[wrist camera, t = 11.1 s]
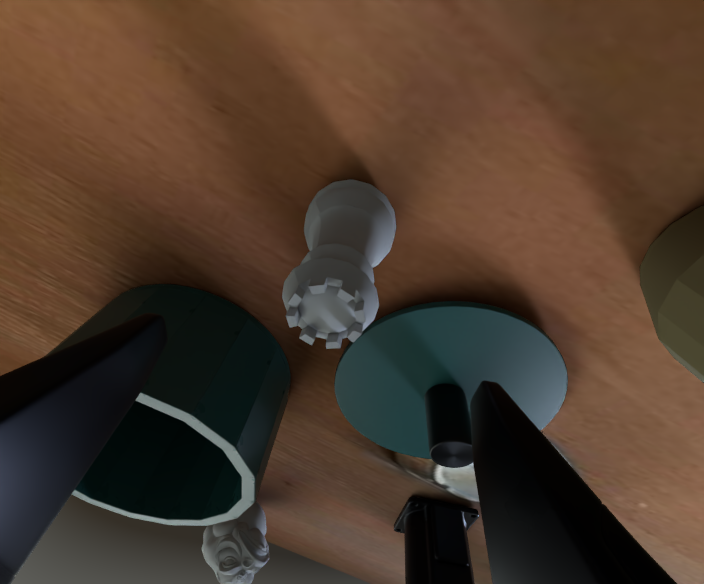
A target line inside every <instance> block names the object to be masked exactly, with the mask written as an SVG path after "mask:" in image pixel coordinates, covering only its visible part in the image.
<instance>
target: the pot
mask: <svg viewBox="0 0 704 584" xmlns="http://www.w3.org/2000/svg"><path fill="white" fill-rule="evenodd" d="M145 313H154V314H159V315H162V316H163V317H164V319H165V325H166V330H167V336H168V340H167V344H166V346H165V348H164V350H163V352H162V354H161V356H160V357H159V359H158V361H157V363H156V365H155V367H154V369H153V371H152V372H151V374H150V376H149V378H148V380H147V382H146V384H145V386H144V387H143V389H142V391H141V393H140V394H139V396H138V397H137V399H136V400H135V402H134V403H133V405H132V406H131V408H130V409H129V411H128V412H127V414H126V415H125V417H124V418H123V419H122V421H121V422H120V424H119V425H118V427H117V428H116V430H115V431H114V433H113V434H112V436H111V437H110V439H109V440H108V441H107V443H106V444H105V446H104V447H103V449H102V450H101V452H100V453H99V455H98V456H97V458H96V459H95V461H94V462H93V463H92V465H91V466H90V468H89V469H88V471H87V472H86V474H85V475H84V477H83V478H82V480H81V481H80V483H79V484H78V485H77V487H76V488H75V490H74V491H73V493H72V494H73V495H75V496H77V497H78V498H80V499H82V500H84V501H86V502H89V503H91V504H94V505H97V506H100V507H103V508H105V509H108V510H111V511H114V512H117V513H120V514H122V515H126V516H129V517H131V518H136V519H142V520H147V521H152V522H157V523H162V524H167V525H202V526H207V525H213V524H217V523H220V522H224V521H228V520H232V519H236V518H238V517H239V516H240V515H241V514H242V513H244V512H245V511H246V510H247V509H248V508H249V507H250V506H251V505H252V504H253V503H254V502H255V501H256V498H257V495H258V492H259V489H260V485H261V482H262V479H263V476H264V473H265V470H266V467H267V463H268V460H269V457H270V454H271V451H272V448H273V445H274V441H275V438H276V435H277V432H278V429H279V426H280V423H281V419H282V416H283V413H284V410H285V407H286V404H287V400H288V393H289V388H290V384H291V375H290V369H289V364H288V362H287V359H286V356H285V354H284V352H283V350H282V348H281V346H280V345H279V344H278V342H277V341H276V339H275V338H274V337H273V335H272V334H271V333H270V332H269V331H268V330H267V329H266V328H265V327H264V326H263V325H262V324H261V323H260V322H259V321H258V320H257V319H255V318H254V317H253V316H251V315H250V314H249V313H247V312H246V311H245V310H243V309H241V308H240V307H238V306H236V305H235V304H233V303H231V302H229V301H227V300H225V299H223V298H221V297H219V296H217V295H214V294H211V293H208V292H206V291H203V290H199V289H195V288H191V287H187V286H180V285H172V284H155V285H145V286H141V287H137V288H133V289H131V290H128V291H126V292H124V293H121V294H120V295H119V296H117V297H116V298H115V299H113V300H112V301H111V302H110V303H109V304H107V305H106V306H105V307H103V308H102V309H101V310H99V311H98V312H97V313H96V314H95V315H94V316H92V317H91V318H90V319H89V320H88V321H86V322H85V323H84V324H83V325H82V326H80V327H79V328H78V329H77V330H76V331H74V332H73V333H72V334H71V335H70V336H68V337H67V338H66V339H65V340H64V341H62V342H61V343H60V344H59V345H58V346H56V347H55V348H54V349H53V350H52V351H50V352H49V353H48V354H47V355H46V356H48V355H50V354H52V353H55V352H57V351H59V350H61V349H64V348H66V347H68V346H71V345H73V344H75V343H78V342H80V341H82V340H85V339H87V338H89V337H91V336H94V335H96V334H98V333H101V332H103V331H105V330H108V329H110V328H112V327H114V326H117V325H119V324H121V323H124V322H126V321H128V320H131V319H133V318H135V317H137V316H140V315H142V314H145ZM44 357H45V356H44Z"/></svg>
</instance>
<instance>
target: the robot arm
mask: <svg viewBox="0 0 704 584" xmlns="http://www.w3.org/2000/svg"><path fill="white" fill-rule="evenodd" d="M167 340H168V336H167V330H166V325H165V319H164V317H163V316H162V315H159V314H154V313H145V314H142V315H140V316H137V317H135V318H133V319H131V320H128V321H126V322H124V323H121V324H119V325H117V326H114V327H112V328H110V329H108V330H105V331H103V332H101V333H98V334H96V335H94V336H91V337H89V338H87V339H85V340H82V341H80V342H78V343H75V344H73V345H71V346H68V347H66V348H64V349H61V350H59V351H57V352H55V353H52V354H50V355H48V356H45V357H43V358H41V359H38V360H36V361H34V362H32V363H29V364H27V365H25V366H22V367H20V368H18V369H15V370H13V371H11V372H9V373H6V374H4V375H2V376H0V584H11V583H12V581H13V580H14V578H15V575H17V573H18V572H19V570H20V569H21V568H22V566H23V565H24V563H25V562H26V560H27V559H28V557H29V556H30V554H31V553H32V551H33V550H34V549H35V547H36V546H37V544H38V543H39V541H40V540H41V538H42V537H43V535H44V534H45V532H46V531H47V529H48V528H49V526H50V525H51V524H52V522H53V520H54V519H55V518H56V516H57V515H58V513H59V512H60V510H61V509H62V507H63V506H64V505H65V503H66V502H67V500H68V499H69V497H70V496H71V494H72V493H73V491H74V490H75V488H76V487H77V485H78V484H79V483H80V481H81V480H82V478H83V477H84V475H85V474H86V472H87V471H88V469H89V468H90V466H91V465H92V463H93V462H94V461H95V459H96V458H97V456H98V455H99V453H100V452H101V450H102V449H103V447H104V446H105V444H106V443H107V441H108V440H109V439H110V437H111V436H112V434H113V433H114V431H115V430H116V428H117V427H118V425H119V424H120V422H121V421H122V419H123V418H124V417H125V415H126V414H127V412H128V411H129V409H130V408H131V406H132V405H133V403H134V402H135V400H136V399H137V397H138V396H139V394H140V393H141V391H142V389H143V387H144V386H145V384H146V382H147V380H148V378H149V376H150V374H151V372H152V371H153V369H154V367H155V365H156V363H157V361H158V359H159V357H160V356H161V354H162V352H163V350H164V348H165V346H166V344H167ZM470 413H471V434H472V453H473V463H474V470H475V476H476V482H477V489H478V495H479V501H480V507H481V514H482V520H483V526H484V532H485V539H486V545H487V551H488V557H489V563H490V570H491V576H492V582H493V584H677V583H676V582H675V581H674V580H673V579H672V578H671V577H670V576H669V575H668V574H667V573H666V572H665V571H664V570H663V569H662V567H661V566H660V565H659V564H658V563H657V562H656V561H655V560H654V559H653V558H652V557H651V556H650V555H649V554H648V553H647V552H646V551H645V550H644V548H643V547H642V546H641V545H640V544H639V543H638V542H637V541H636V540H635V539H634V538H633V536H632V535H631V534H630V533H629V532H628V531H627V530H626V529H625V528H624V526H623V525H622V524H621V523H620V522H619V521H618V520H617V519H616V517H615V516H614V515H613V514H612V513H611V512H610V511H609V509H608V508H607V507H606V506H605V505H604V504H602V502H601V500H600V499H599V498H598V497H597V496H596V495H595V493H594V492H593V491H592V490H591V489H590V488H589V487H588V485H587V484H586V483H585V482H584V481H583V480H582V478H581V477H580V476H579V475H578V474H577V473H576V472H575V470H574V469H573V468H572V467H571V466H570V465H569V464H568V462H567V461H566V460H565V459H564V458H563V457H562V456H561V454H560V453H559V452H558V451H557V450H556V449H555V447H554V446H553V445H552V444H551V443H550V442H549V441H548V439H547V438H546V437H545V436H544V435H543V434H542V433H541V431H540V430H539V429H538V428H537V427H536V426H535V424H534V423H533V422H532V421H531V420H530V419H529V418H528V416H527V415H526V414H525V413H524V412H523V411H522V410H521V408H520V407H519V406H518V405H517V404H516V403H515V401H514V400H513V399H512V398H511V397H510V396H509V395H508V393H507V392H506V391H505V390H504V389H503V388H502V387H501V385H500V384H498V383H496V382H491V381H486V380H484V381H482V382H481V383H480V385H479V387H478V388H477V390H476V392H475V393H474V395H473V397H472V399H471V403H470ZM478 517H479V514H478V510H476V509H473V508H468V507H463V506H458V505H452V504H447V503H442V502H437V501H432V500H427V499H422V498H417V497H410V498H409V499H408V501H407V502H406V504H405V506H404V508H403V509H402V511H401V513H400V515H399V517H398V518H397V520H396V522H395V524H394V530H395V531H396V532H400V533H405V578H406V584H475V583H474V576H473V570H472V563H471V557H470V550H469V544H468V537H467V530H468V529H469V528H470V527H471V525H472V524H473V523H474V522H475V521H476V520H477V518H478Z"/></svg>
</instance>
